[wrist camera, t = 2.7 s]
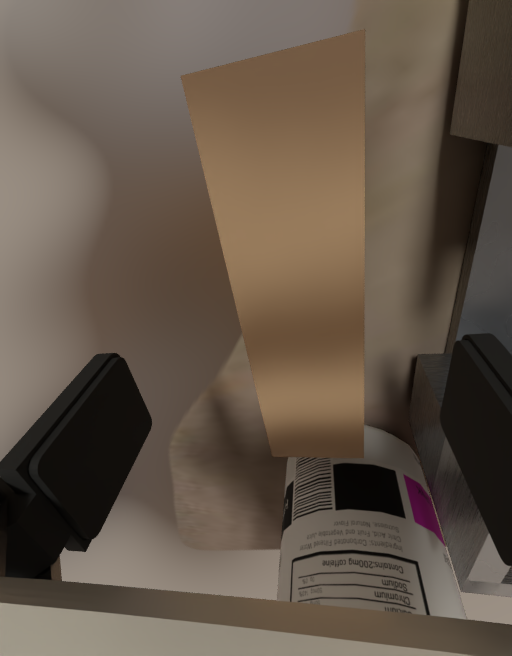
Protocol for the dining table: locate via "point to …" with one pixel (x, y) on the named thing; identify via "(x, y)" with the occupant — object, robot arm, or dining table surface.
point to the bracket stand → (474, 290)
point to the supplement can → (365, 534)
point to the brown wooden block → (293, 231)
